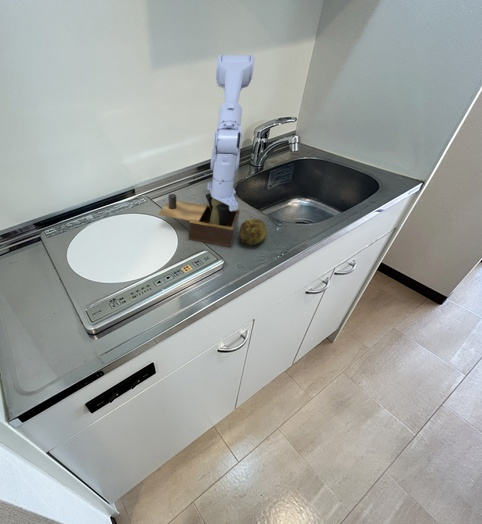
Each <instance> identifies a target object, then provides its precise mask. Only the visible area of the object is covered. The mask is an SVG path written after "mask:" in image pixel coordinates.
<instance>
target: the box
mask: <svg viewBox="0 0 482 524" xmlns="http://www.w3.org/2000/svg"><path fill="white" fill-rule="evenodd" d="M199 204H200V205H207V208H206V210H205V212H204V214H203V216H202V217H201V219H200V221H199V222H198V221H192V220H190V221H189V227H188V229H189V230H188V231H189V232H188V236H189V237H188V240H190V241H195V242H200V243H205V244H210V245H214V246H215V245H216V246H220V247H225V248H231V247H232V244H233V241H234V239H235V235H236V233H237V230H238V227H239V226H238V224H239V218H240V213H241V211H240V210H241V209H238V208H237V210H235V211H234V212H233V213H232V215H231V217H230V219H229V221H228V227H226V226H221V225H215V224H209V222H210V217H211V212H210V207H209V204H205V203H199Z"/></svg>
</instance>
